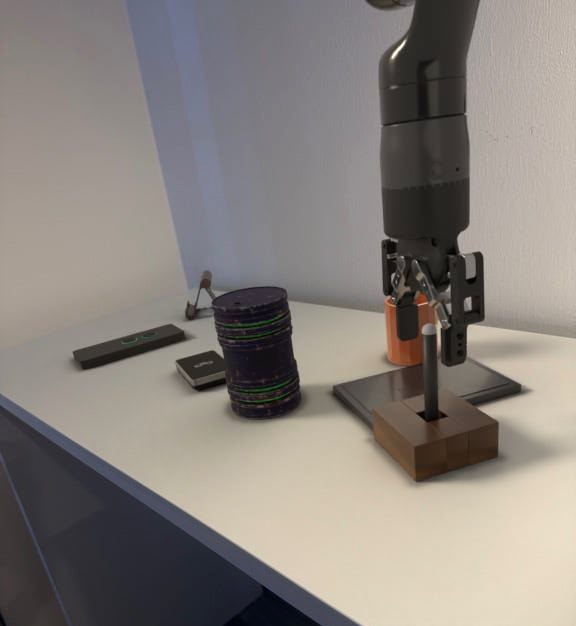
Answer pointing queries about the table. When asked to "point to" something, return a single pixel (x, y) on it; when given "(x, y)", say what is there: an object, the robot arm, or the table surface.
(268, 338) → the storage jar
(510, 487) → the table surface
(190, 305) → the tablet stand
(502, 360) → the table surface
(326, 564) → the table surface
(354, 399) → the tablet
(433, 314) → the pen cup
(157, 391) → the table surface
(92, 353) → the smart home device
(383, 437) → the pen stand
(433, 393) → the stylus
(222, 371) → the external hard drive
